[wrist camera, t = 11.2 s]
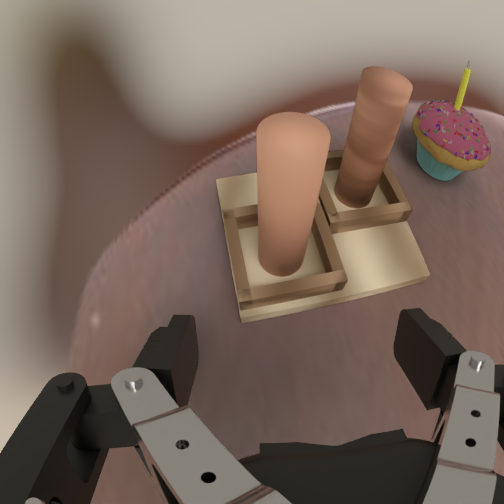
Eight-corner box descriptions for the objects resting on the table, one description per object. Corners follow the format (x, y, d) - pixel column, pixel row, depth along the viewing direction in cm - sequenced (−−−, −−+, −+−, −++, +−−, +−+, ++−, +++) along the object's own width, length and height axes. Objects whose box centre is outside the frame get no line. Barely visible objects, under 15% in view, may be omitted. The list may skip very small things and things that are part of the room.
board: (370, 167, 29) (405, 56, 18) (424, 281, 23) (510, 180, 12) (217, 188, 28) (197, 62, 17) (241, 323, 22) (222, 220, 11)
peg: (297, 233, 24) (316, 109, 14) (308, 271, 22) (341, 154, 13) (254, 240, 24) (250, 115, 14) (263, 280, 22) (265, 163, 12)
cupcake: (391, 134, 31) (420, 39, 21) (452, 141, 31) (489, 60, 21) (416, 195, 27) (467, 92, 16) (481, 199, 27) (537, 114, 16)
